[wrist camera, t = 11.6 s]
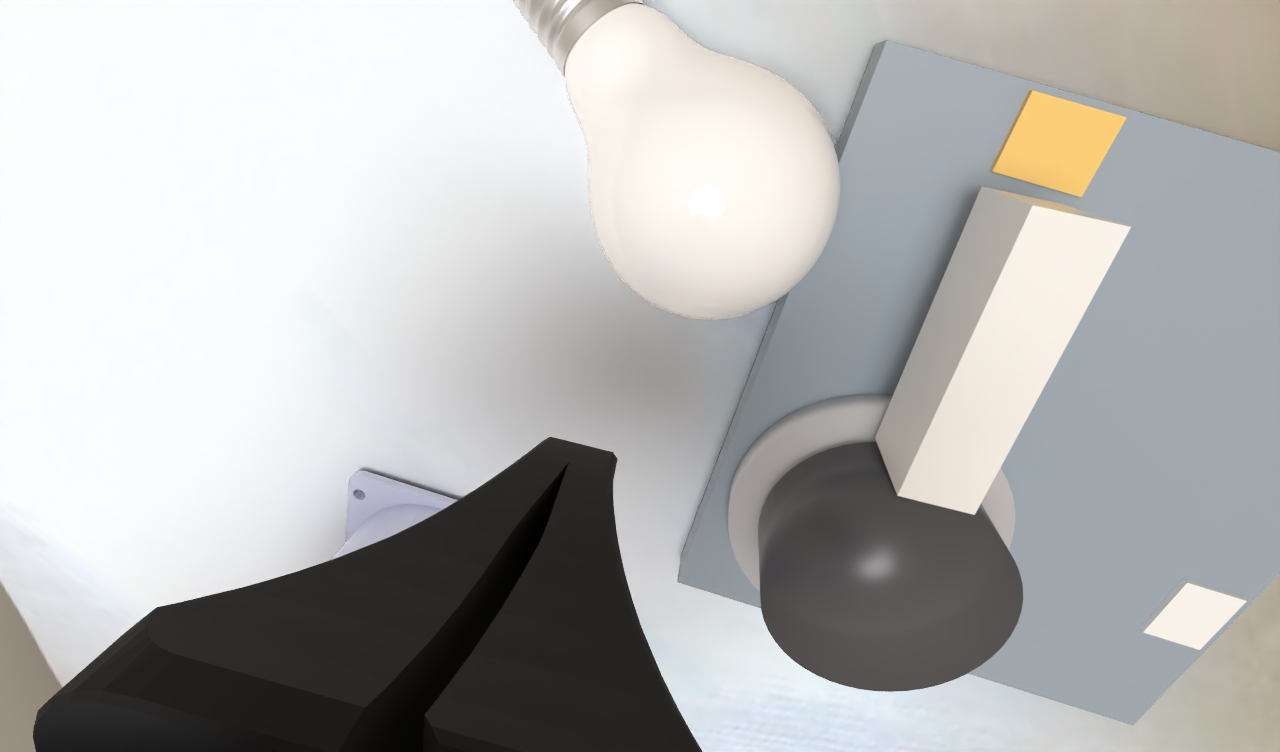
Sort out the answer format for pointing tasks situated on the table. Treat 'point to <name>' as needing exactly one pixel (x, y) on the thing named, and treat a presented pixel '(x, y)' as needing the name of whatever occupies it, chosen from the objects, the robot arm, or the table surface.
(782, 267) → the lightbulb
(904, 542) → the cap
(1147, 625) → the base
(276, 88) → the table surface
